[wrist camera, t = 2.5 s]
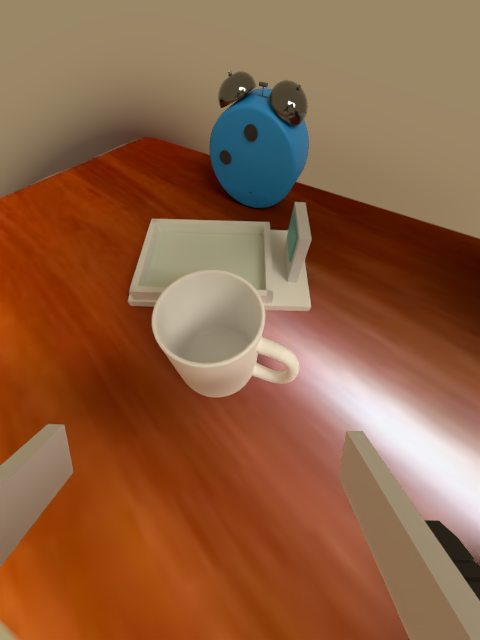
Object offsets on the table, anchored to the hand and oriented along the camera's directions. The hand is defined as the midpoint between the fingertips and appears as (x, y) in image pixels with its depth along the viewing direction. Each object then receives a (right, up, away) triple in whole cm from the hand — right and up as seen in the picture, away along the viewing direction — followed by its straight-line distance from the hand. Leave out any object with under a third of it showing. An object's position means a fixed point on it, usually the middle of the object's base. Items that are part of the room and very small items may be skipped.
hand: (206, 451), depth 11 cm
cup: (+1, +1, +15) cm, 15 cm away
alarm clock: (+4, +27, +29) cm, 40 cm away
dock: (-1, +13, +22) cm, 25 cm away
